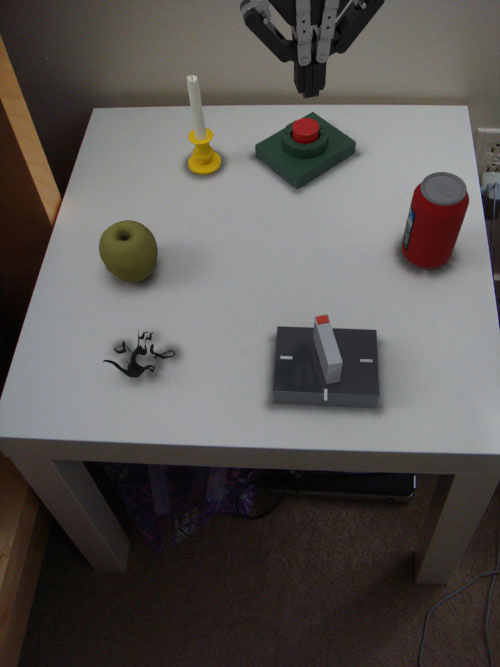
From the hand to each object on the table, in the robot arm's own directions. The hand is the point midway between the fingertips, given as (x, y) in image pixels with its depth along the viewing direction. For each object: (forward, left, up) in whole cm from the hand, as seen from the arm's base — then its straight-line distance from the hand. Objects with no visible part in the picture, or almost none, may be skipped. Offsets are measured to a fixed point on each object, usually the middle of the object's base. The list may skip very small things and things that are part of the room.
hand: (309, 92), depth 59 cm
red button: (-15, -17, -23) cm, 33 cm away
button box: (-15, -17, -27) cm, 35 cm away
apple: (+18, -15, -27) cm, 36 cm away
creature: (+25, -2, -27) cm, 37 cm away
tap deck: (+9, +14, -27) cm, 32 cm away
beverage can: (-14, +9, -27) cm, 32 cm away
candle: (-2, -26, -27) cm, 38 cm away
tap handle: (+9, +14, -24) cm, 29 cm away
